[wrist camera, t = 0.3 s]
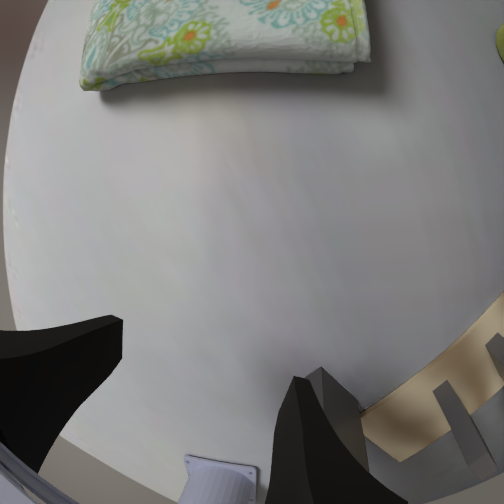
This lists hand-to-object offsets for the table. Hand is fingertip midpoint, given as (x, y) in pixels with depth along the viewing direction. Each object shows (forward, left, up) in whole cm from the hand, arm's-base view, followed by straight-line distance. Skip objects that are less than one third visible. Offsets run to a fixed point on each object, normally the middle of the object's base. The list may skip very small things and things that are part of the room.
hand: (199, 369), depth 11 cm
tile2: (-10, -18, -9) cm, 23 cm away
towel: (+24, +2, -11) cm, 26 cm away
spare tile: (-8, -7, -10) cm, 15 cm away
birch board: (-4, -25, -10) cm, 27 cm away
